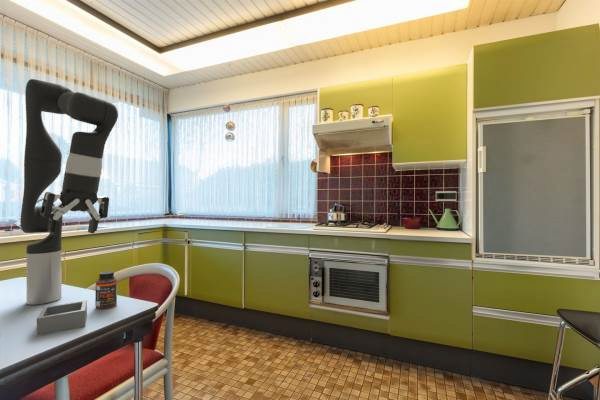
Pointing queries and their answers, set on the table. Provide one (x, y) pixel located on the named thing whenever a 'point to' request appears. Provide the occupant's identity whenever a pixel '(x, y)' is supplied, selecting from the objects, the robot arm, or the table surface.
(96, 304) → the supplement bottle
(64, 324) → the open box
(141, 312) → the table surface
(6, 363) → the table surface
